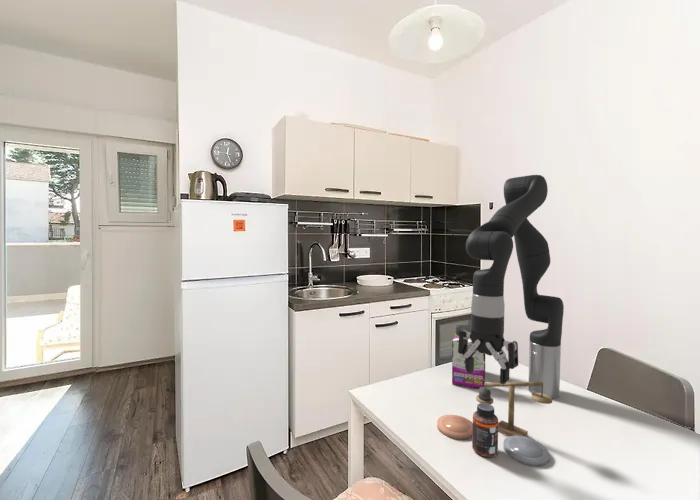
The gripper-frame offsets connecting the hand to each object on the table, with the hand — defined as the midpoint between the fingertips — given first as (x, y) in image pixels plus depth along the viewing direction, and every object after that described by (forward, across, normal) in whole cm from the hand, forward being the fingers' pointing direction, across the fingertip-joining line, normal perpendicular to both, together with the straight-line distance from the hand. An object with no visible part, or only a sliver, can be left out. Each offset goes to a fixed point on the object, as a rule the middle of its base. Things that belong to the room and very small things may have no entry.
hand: (486, 377), depth 83 cm
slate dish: (+19, -7, -7) cm, 21 cm away
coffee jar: (+19, +28, -41) cm, 53 cm away
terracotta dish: (+19, +10, -3) cm, 21 cm away
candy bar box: (+19, +22, -31) cm, 42 cm away
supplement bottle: (+19, 0, 0) cm, 19 cm away
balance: (+19, -1, -13) cm, 22 cm away
